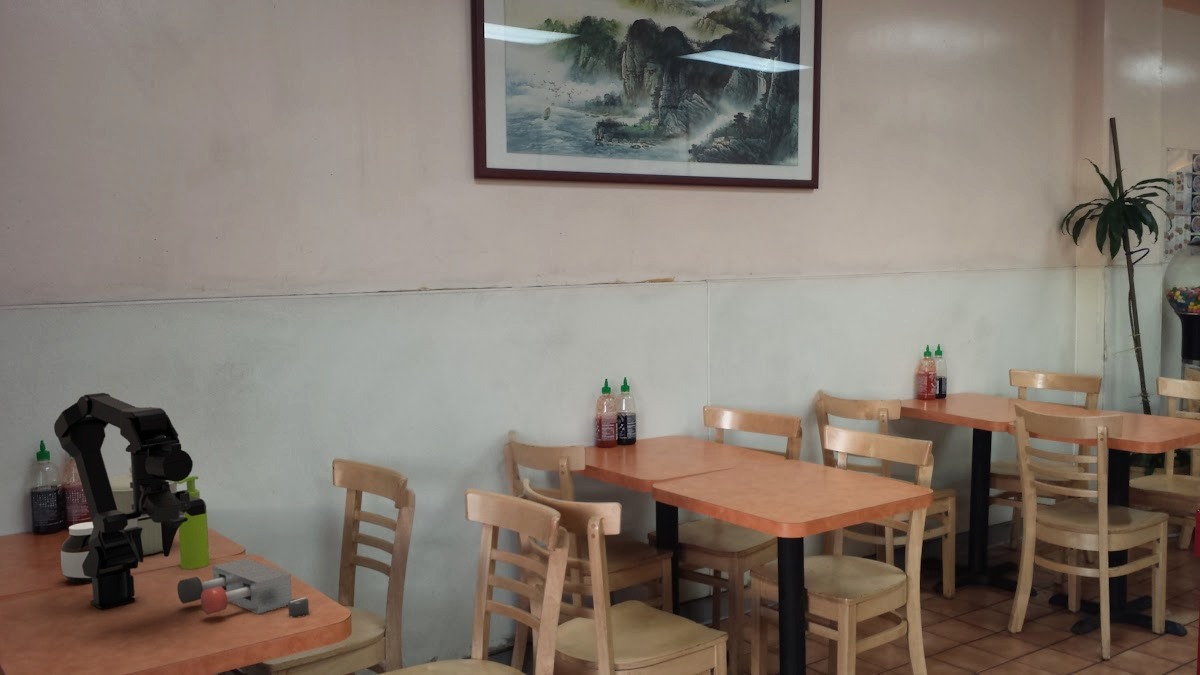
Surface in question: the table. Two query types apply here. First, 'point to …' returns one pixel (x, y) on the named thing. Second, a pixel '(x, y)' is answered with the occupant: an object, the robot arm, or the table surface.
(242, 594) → the red knob
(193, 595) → the black knob
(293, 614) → the dial
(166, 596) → the table surface
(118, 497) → the canister
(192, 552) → the soap dispenser
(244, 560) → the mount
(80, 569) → the spread jar
